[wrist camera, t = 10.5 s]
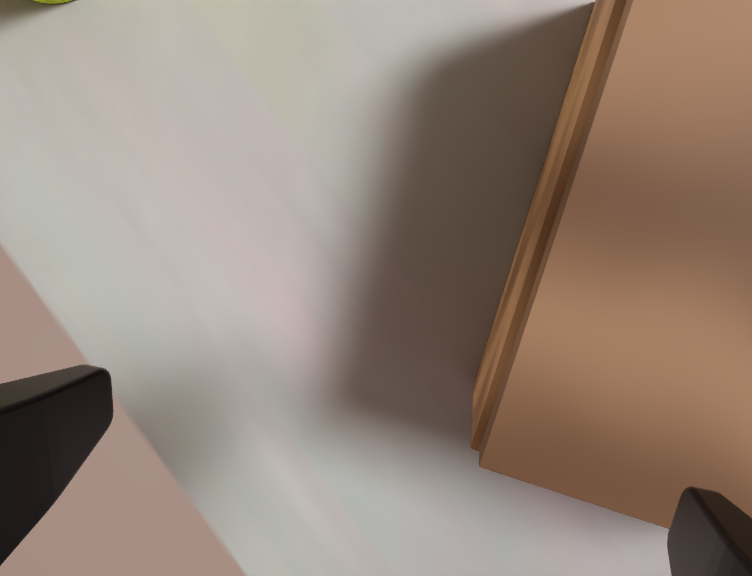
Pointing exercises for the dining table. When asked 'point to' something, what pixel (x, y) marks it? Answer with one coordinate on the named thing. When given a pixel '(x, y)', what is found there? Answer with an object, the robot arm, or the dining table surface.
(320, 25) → the dining table surface
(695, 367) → the lid
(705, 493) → the robot arm
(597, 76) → the wooden box
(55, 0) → the soap dispenser
